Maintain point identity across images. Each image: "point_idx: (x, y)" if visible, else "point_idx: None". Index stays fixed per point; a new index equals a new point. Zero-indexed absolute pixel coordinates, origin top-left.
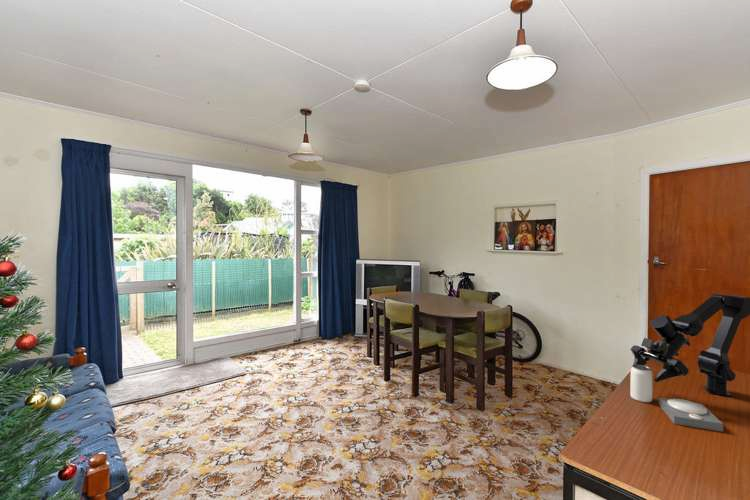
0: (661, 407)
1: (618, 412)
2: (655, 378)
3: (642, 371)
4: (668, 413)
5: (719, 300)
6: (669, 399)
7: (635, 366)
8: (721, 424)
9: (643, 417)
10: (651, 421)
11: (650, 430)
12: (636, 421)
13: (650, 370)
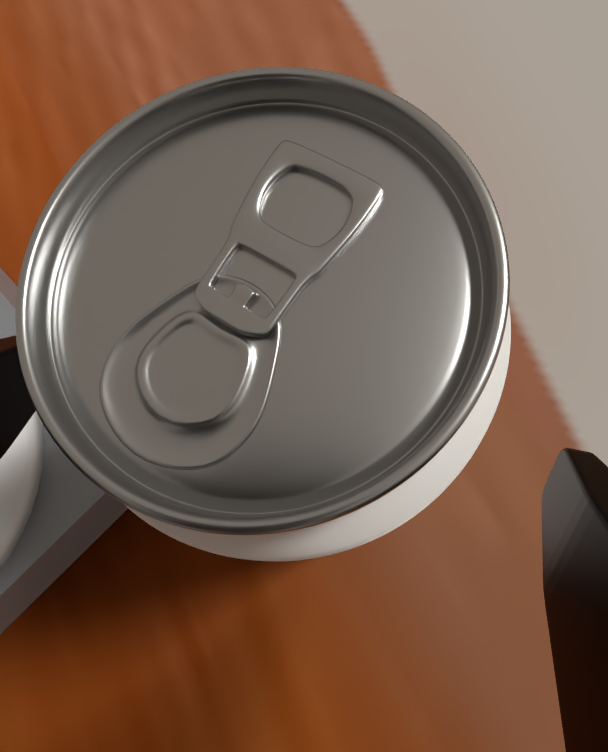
0: None
1: (245, 13)
2: (4, 345)
3: (144, 147)
4: (5, 282)
5: None
6: (23, 456)
7: (423, 256)
8: None
9: (115, 109)
10: (58, 108)
11: (9, 3)
12: (110, 19)
13: (42, 351)
